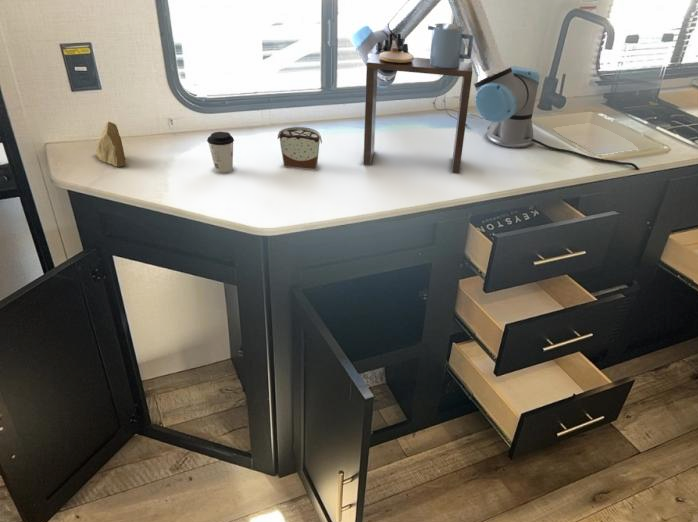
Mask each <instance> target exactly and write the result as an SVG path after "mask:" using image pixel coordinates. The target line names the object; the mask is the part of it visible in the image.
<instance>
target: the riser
mask: <svg viewBox="0 0 698 522" xmlns="http://www.w3.org/2000/svg"><path fill="white" fill-rule="evenodd" d="M378 69H381V70H392V71H397V72H405V73H417V74H428V75H439V76H450V77H460V78H461V77H462V78H461V79H462V80H461V87H460V95H459V102H458V111H457V121H456V128H455V137H454V145H453V153H452V169H451V170H452V171H451V172H452V173H453V174H460V171H461V162H462V155H463V148H464V140H465V132H466V124H467V117H468V110H469V109H468V108H469V102H470V101H469V100H470V94H471V85H472V78H473V65H472V62H471V61H460V63H459V67H457V68H439V67H435V66H432V65H431V64H430V58H424V57H415V56H414V59H413V61H411V62H405V63H396V62H388V61H384V60H382V59H380V54H371V55H370V57H369V59H368V61H367V66H366V73H365V75H366V76H365V78H366V79H365V104H364V105H365V106H364V133H363V135H364V136H363V138H364V139H363V165H365V166H366V165H367V166H371V165H372V164H371V163H372V161H373V157H374V154H375V139H376V137H375V136H376V117H377V116H376V115H377V93H378V91H377V90H378V86H377V72H378Z"/></svg>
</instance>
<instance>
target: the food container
mask: <svg viewBox="0 0 698 522" xmlns="http://www.w3.org/2000/svg"><path fill="white" fill-rule="evenodd" d="M276 140H279V144H280V151H281V156H282V163H283V168H289V169H290V168H291V169H299V170H301V169H302V170H311V171H313V170H314V171H318V162H319V152H320V144H322V143H323V140H322V136H321V133H320V132H319V131H318V130H316V129H314V128H311V127H305V126H292V127H285V128H282V129H281V130H279V131H278V134H277V139H276Z"/></svg>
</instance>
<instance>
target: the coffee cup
mask: <svg viewBox="0 0 698 522" xmlns="http://www.w3.org/2000/svg"><path fill="white" fill-rule="evenodd" d="M206 141H207V143H208V146H209V150H210V154H211V158H212V162H213V167H214V172H216V173H217V174H221V175H224V174H230V173H231V172H233V169H234V167H233V165H234V142H235V139H234V137H233V136H232V135H231V133H230V132H227V131H215V132H212V133H210V135H209V136H208V137H207V139H206Z"/></svg>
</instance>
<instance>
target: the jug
mask: <svg viewBox="0 0 698 522" xmlns="http://www.w3.org/2000/svg"><path fill="white" fill-rule="evenodd" d="M463 29H464V28H463V27H462V26H459V25H457V24H454V23H443V22H442V23H435V24H428V27H427V30H430V31H432V33H431V44H430V53H429V54H430V55H429V59H430V64H431V65H432V66H435V67H439V68H457V67H459V63H460V62H461V59H463V60H464V59H465V60H470V58H471V52H472V45H473V35H470V34H463ZM463 39H469V43H468V51H467V50H466V53H462V46H463Z"/></svg>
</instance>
